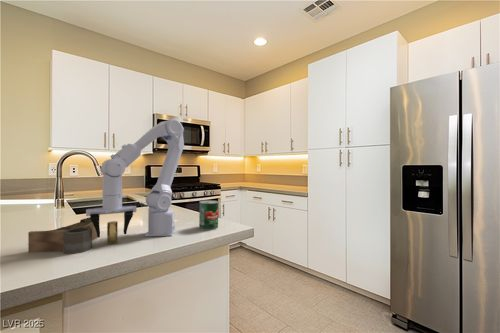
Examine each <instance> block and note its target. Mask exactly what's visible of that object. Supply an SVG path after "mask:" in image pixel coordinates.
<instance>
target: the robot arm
mask: <svg viewBox="0 0 500 333" xmlns="http://www.w3.org/2000/svg"><path fill="white" fill-rule="evenodd" d="M184 131H185V128H184V127H183V125H182V123H181V122H180V121H179V119H176V118H171V119H168V120H164V121H160V122H159V123H158V124H156V125H154V126H153V127H152V128H149V130H147V131H146V132H145V134H143V135H142V136H141V137H140V138H139V139H138V140H137V141H135V142H134V143H127V144H123V145H122V146H121V149H120V150H118V151H117V152H115V154H113V153H112V154H111V155H110V159H106V160H105V161H102V164H101V166H100V167H99V168H100V172H101V174H102V207H95V208H88V209H87V208H86V210H85V217H90V219H91V221H92V223H93V225H94V227H95V229H96V232H97V238H96V239H98V238H101V232H100V231H101V230H100V216H102V215H111V214H123V217H124V218H123V235H127V232H128V227H129V225H130V222H131V220H132V218H133V216H134V213H137V206H136V205H123V174H124V173H125V171H126V168H128V167H129V166H130V165H132V164H133V163H134V162H135V161H136V160H137V159H138V158H139V157H141V151H143V150H144V149H145V148H146V147H147V146H149V145H150V144H151V143H152V142H154V141H155V140H156V139H158V138H162V139H163V140H164V141H166V144H167V146H168V149H167V152H166V154H165V158H164V161H163V164H162V166H161V169H160V173H159V174H158V175H159V176H158V178H157V182H156V183H155V185H154V186H153V187H152V188H151V191H150V192H149V193H148V194H147V196H146V197H145V204H146V205H147V206H148V210H147V211H148V212H147V213H148V214H147V215H148V217H147V218H148V220H147V221H148V225H147V228H148V229H147V230H148V231H147V232H146V234H145V235H144V237H165V236H166V237H170V236H173V234H174V232H175V230H176V228H175V227H176V224H175V222H176V221H175V216H176V215H175V210H174V209H173V210H172V209H170V208H171V206H172V203H173V201H172V195H173V191H172V188H171V187H172V183H173V180H174V177H175V175H176V171H177V168H178V166H179V162H180V159H181V157H182V153H183V151H184V146H185V142H184Z"/></svg>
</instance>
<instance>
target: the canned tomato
mask: <svg viewBox="0 0 500 333" xmlns="http://www.w3.org/2000/svg"><path fill="white" fill-rule="evenodd" d="M198 207H199V216H198V217H199V228H198V229H199V230H202V231H203V230H204V231H213V230H216V229H217V230H218V228H219V201H218V200H214V199H213V200H211V199H209V200H207V199H206V200H200V201H199V206H198Z"/></svg>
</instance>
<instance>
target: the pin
mask: <svg viewBox="0 0 500 333" xmlns="http://www.w3.org/2000/svg"><path fill="white" fill-rule="evenodd" d="M118 223H119V222H118V220H117V221H116V220H111V221H107V224H106V225H107V229H106V230H107V232H106V233H107V234H106V235H107V236H106V238H107V239H106V240H107V241H106V244H107V245H115V244H118V243H119V242H118V240H119V239H118V237H119V235H118V234H119V233H118V231H119V230H118V228H119V227H118Z"/></svg>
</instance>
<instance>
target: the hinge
mask: <svg viewBox="0 0 500 333" xmlns="http://www.w3.org/2000/svg"><path fill="white" fill-rule="evenodd" d="M54 230H55V229H54ZM27 235H28V236H27V237H28V244H27V246H28V251H27V252H28V253H38V252H62V251H63V254H69V255H70V254H80V253H85V252H87V251H90V250H91V249H92V248H93V241H95V240H96V239H98V238H97V232H96V229H95V227H94V225H93V223H92V222H91V223H89V224H88V225H86V226H84V227H79V228H72V229H68V230H55V231H49V230H34V231H33V230H31V231H28V233H27Z"/></svg>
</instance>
